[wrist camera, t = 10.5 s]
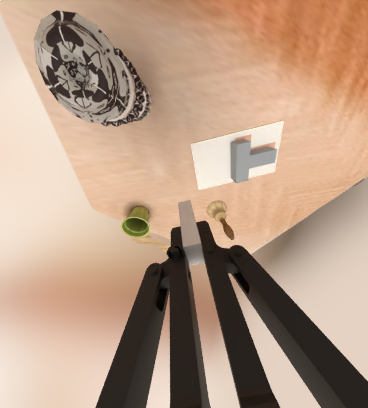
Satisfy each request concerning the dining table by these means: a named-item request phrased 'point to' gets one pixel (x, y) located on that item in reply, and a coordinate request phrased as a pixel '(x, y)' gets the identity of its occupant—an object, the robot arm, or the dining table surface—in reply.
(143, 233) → the plant pot
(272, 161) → the T block
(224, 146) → the board
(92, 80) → the decorative candle
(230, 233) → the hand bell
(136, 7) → the dining table surface
